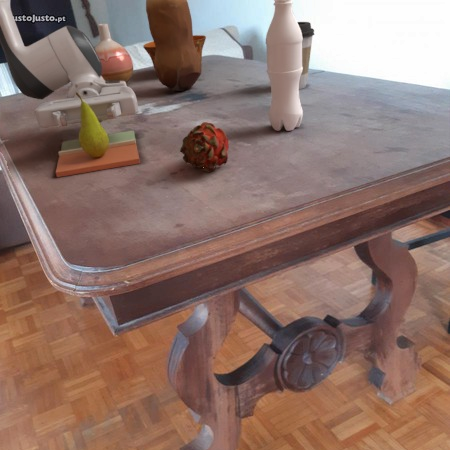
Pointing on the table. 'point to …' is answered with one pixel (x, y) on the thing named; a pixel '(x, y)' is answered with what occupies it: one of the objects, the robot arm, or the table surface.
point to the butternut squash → (173, 43)
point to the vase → (113, 57)
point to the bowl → (197, 41)
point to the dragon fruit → (205, 147)
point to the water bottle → (284, 67)
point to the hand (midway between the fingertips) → (86, 118)
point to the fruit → (92, 132)
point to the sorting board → (114, 157)
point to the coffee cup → (305, 51)
